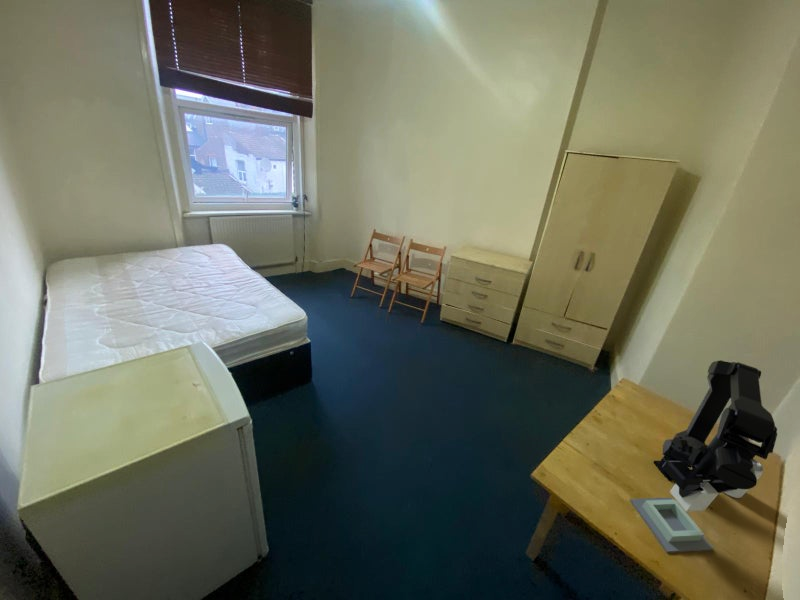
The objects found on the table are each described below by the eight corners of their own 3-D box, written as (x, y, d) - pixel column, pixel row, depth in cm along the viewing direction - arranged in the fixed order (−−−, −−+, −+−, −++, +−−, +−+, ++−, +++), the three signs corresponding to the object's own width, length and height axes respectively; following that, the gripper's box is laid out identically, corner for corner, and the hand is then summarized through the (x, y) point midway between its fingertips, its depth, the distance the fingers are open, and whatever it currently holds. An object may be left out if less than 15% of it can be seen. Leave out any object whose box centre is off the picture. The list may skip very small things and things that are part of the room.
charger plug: (686, 491, 85) (703, 470, 81) (704, 510, 81) (722, 489, 77) (669, 491, 85) (685, 470, 81) (686, 511, 80) (703, 490, 76)
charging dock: (670, 498, 94) (675, 492, 92) (712, 550, 82) (719, 543, 81) (629, 500, 92) (633, 493, 91) (666, 552, 81) (672, 545, 79)
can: (707, 478, 101) (728, 452, 95) (726, 478, 101) (748, 452, 96) (728, 499, 95) (751, 472, 90) (747, 498, 96) (771, 472, 90)
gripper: (725, 425, 83) (695, 465, 90) (659, 426, 81) (633, 466, 88) (773, 465, 73) (735, 506, 80) (699, 466, 71) (667, 509, 78)
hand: (690, 495), depth 82 cm, fingers closed on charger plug, 5 cm apart
